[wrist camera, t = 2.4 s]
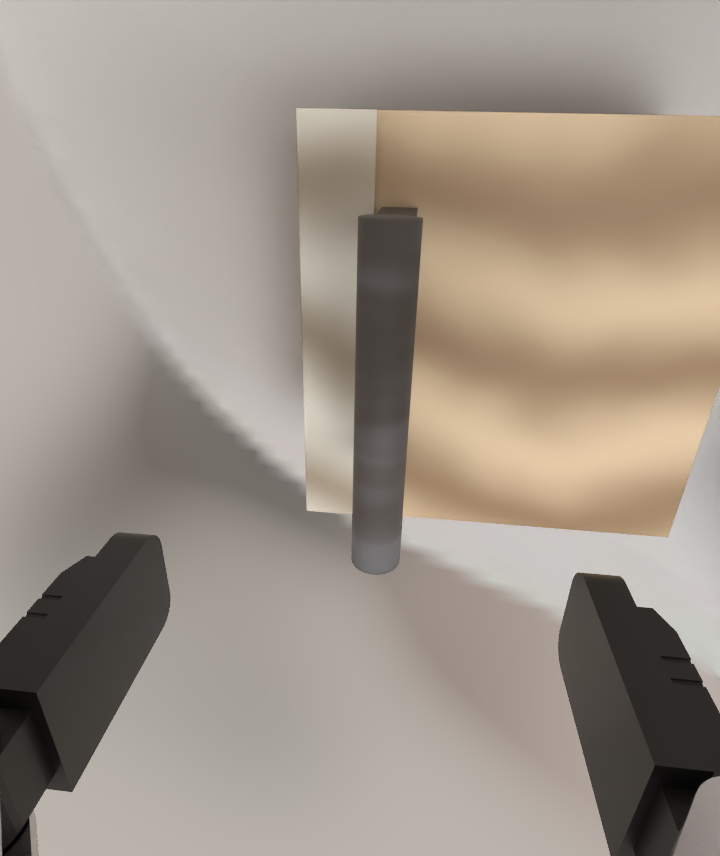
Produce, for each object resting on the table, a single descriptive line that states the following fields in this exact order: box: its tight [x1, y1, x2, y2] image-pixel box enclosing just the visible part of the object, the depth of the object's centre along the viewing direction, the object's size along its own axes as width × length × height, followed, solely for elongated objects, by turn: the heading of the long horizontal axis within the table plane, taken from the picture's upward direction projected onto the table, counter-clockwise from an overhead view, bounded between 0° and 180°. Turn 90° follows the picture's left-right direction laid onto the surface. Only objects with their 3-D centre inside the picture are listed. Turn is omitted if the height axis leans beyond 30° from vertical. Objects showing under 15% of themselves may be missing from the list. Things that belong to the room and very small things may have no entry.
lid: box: [296, 108, 720, 575], centre depth 21 cm, size 18×18×9 cm
